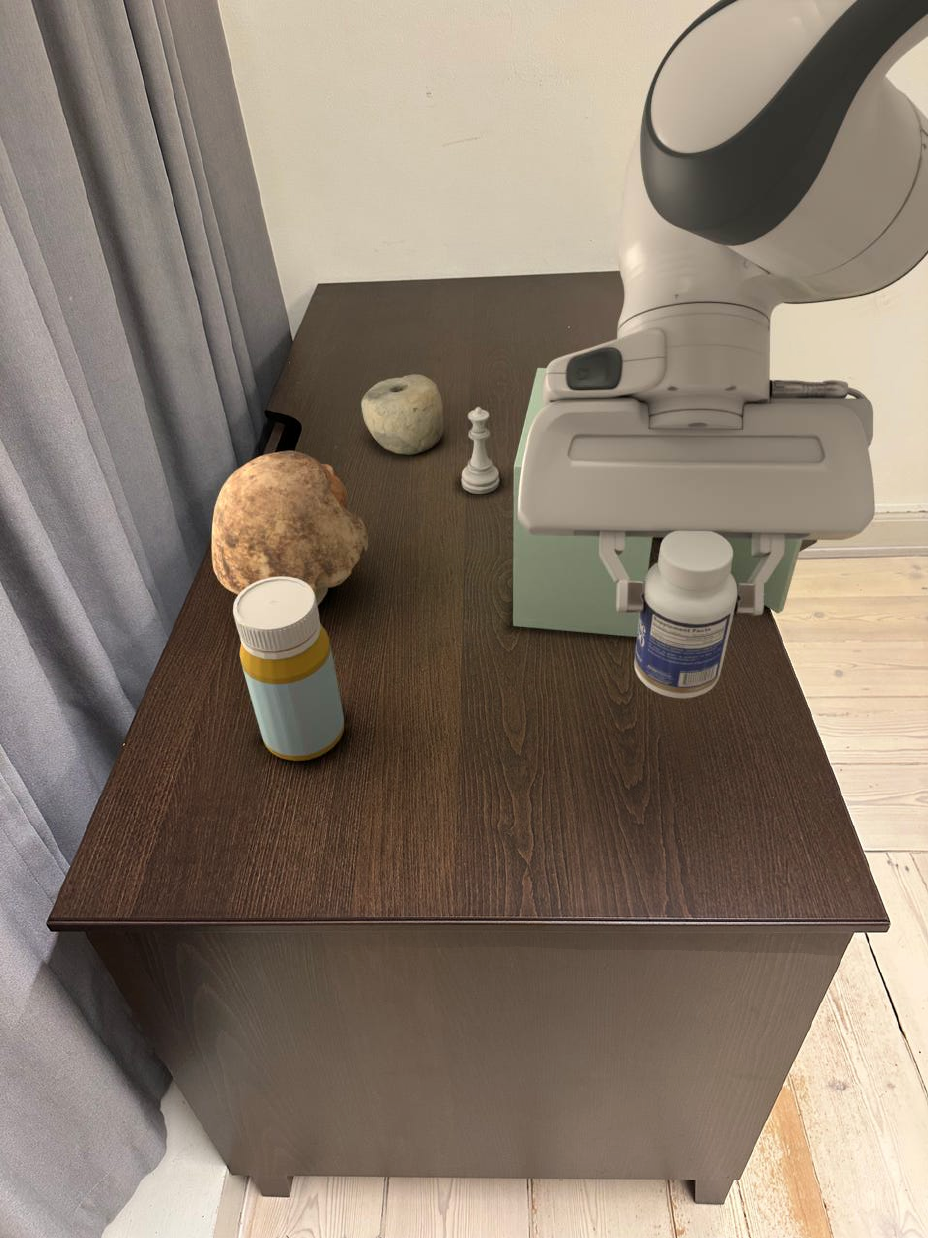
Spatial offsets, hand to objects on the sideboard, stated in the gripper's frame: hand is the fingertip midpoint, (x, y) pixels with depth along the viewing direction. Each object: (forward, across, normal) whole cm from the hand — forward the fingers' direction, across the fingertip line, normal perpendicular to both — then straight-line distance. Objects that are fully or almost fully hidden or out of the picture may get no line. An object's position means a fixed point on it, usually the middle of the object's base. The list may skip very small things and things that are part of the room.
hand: (687, 613), depth 52 cm
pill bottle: (+4, 0, -4) cm, 6 cm away
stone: (-24, +26, -57) cm, 68 cm away
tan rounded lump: (-3, +33, -36) cm, 49 cm away
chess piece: (-17, +16, -50) cm, 56 cm away
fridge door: (-9, -11, -41) cm, 44 cm away
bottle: (+10, +29, -22) cm, 38 cm away
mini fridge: (-6, +5, -39) cm, 40 cm away
